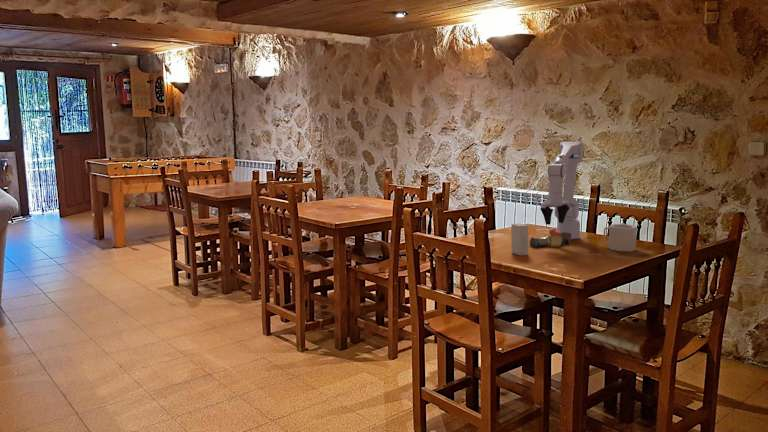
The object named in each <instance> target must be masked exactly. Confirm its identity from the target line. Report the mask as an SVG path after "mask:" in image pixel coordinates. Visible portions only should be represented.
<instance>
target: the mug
mask: <svg viewBox="0 0 768 432" xmlns="http://www.w3.org/2000/svg"><path fill="white" fill-rule="evenodd" d="M606 230H608V241H607V240H606ZM637 231H638V227H637V225H636V226H635V225H633V224H626V223H614V224H610V225H609V226H608V227H604V229H603V238H602V241H603V242H604V243H606V244H608V247H607V248H608V249H609V250H611V251H614V250H615V252H622V253H623V252H624V253H625V252H628V253H630V252H634V251H636V247H637V246H636V244H637Z"/></svg>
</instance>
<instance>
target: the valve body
mask: <svg viewBox="0 0 768 432" xmlns="http://www.w3.org/2000/svg"><path fill="white" fill-rule="evenodd" d="M542 238H547V239H548V245H547V246H546V247H560V246H561V245H563V244H562V237H560V236H556V235H551V234H549V233H544V234H543V237H542Z"/></svg>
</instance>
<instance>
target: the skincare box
mask: <svg viewBox="0 0 768 432" xmlns="http://www.w3.org/2000/svg"><path fill="white" fill-rule="evenodd" d="M511 253H512V254H515V255H517V256H528V255H529V225H528V224H527V225H526V224H523V223H511Z"/></svg>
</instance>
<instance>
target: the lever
mask: <svg viewBox="0 0 768 432" xmlns="http://www.w3.org/2000/svg"><path fill="white" fill-rule="evenodd" d="M548 230H549V233H548V234H551V235H556V236H560V237H563V238H566V239H570V238H571V233H567V232H559V231H558V230H557V229H555V228H549V229H548Z"/></svg>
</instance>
